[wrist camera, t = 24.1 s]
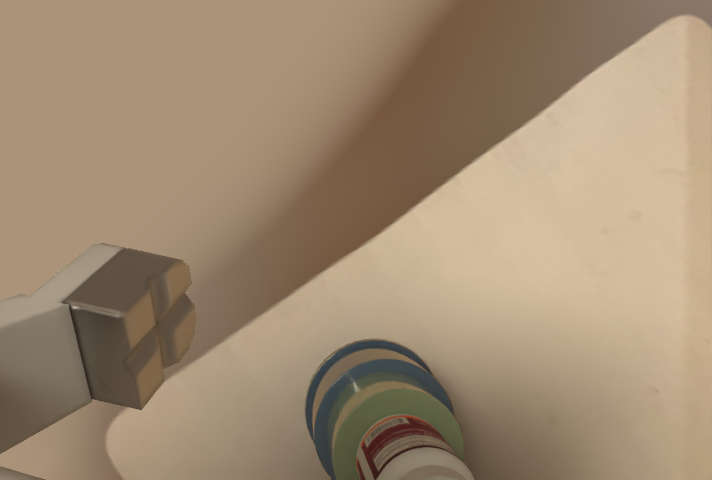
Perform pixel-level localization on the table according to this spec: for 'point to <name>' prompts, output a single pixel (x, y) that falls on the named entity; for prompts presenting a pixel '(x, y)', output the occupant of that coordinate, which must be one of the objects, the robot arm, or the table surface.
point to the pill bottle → (407, 452)
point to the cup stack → (371, 400)
